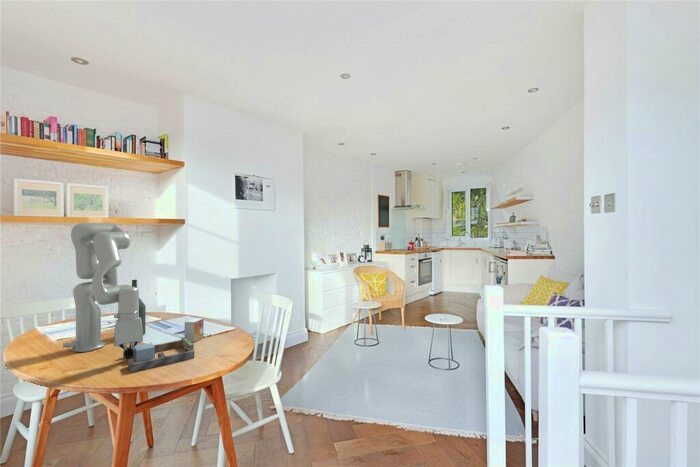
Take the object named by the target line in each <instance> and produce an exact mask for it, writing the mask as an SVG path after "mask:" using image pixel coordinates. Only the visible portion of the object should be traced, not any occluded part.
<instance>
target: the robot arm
mask: <svg viewBox="0 0 700 467" xmlns="http://www.w3.org/2000/svg"><path fill="white" fill-rule="evenodd" d="M71 228H72V229H71V232H70V239H71V242H72V245H73V248H74V250H75V270H76V276H77V277H78V278H79V279H81V280H91V281H85V282H81V283H78V284H77V285H75V286H74V288H73V290H72V296H73V299H74V305H75V339H74V340H72V341H71V342H64V343H62V348H67V349H68V348H71V352H73V353H85V352H92V351H96V350H98V349H101V348H103V347H104V346H105V344H106V343H105V342H104V341H101V340H102V338H101V337H102V334H101V333H102V332H101V330H102V310H101V307H100V306H99V305H101V306H105V305H111V304H118V305H117V314H114V315H113V318H114V319H116V321H115V325H114V336H113V339H114V342H113V347H114V348H121V349H123V351H124V357H126V358H125V359H126V360H128V359H132V357H131V356H132V355H133V349H134V347H135V346H138V345H139V344H140V343H143V341H144V335H143V328H142V320H141V318H140V317H139V298H140V297H139V296H140V290H139V288H138V286H137V287H132V285H130V284H120V285H119V284H118V267H119V266H121V264H122V263H123V262H122V258H121V254H120V250H127V249H128V248H129V247H130V245H131V238H130V236H129V235H128V233H127V232H126V231H125V230H124V229H123V228H121V227H119V226H118V225H116V224H114V223H111V222H110V223H109V222H81V223H77V224H75V225H73V226H72V227H71ZM98 304H99V305H98ZM127 344H129V347H128V345H127Z"/></svg>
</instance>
